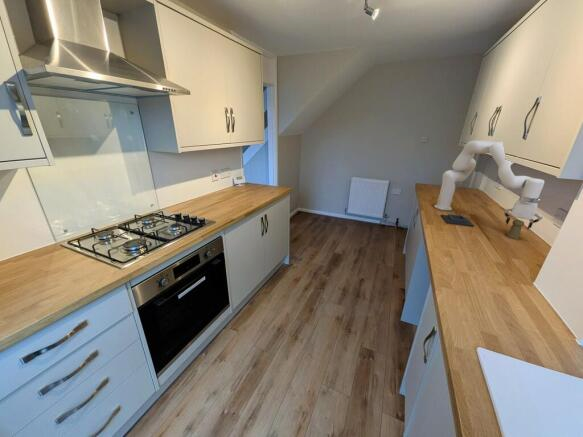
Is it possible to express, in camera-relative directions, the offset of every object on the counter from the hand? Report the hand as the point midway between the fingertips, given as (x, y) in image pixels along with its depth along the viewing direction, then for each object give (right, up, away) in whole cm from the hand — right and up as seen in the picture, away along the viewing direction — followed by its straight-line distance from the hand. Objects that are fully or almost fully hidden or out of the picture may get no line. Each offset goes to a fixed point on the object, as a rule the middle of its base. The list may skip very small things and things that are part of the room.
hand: (517, 226), depth 145 cm
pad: (-20, +3, +26) cm, 33 cm away
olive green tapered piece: (0, -7, +3) cm, 7 cm away
